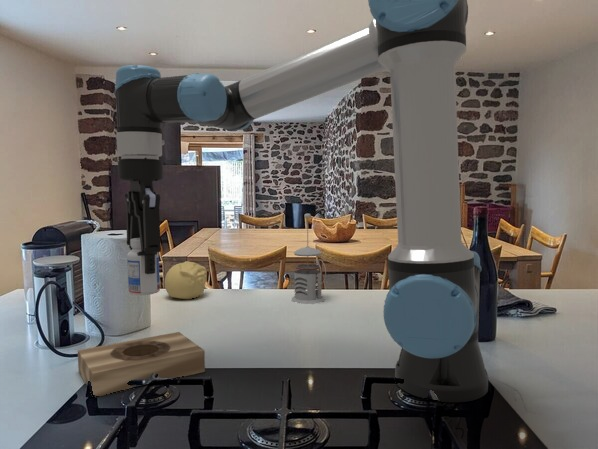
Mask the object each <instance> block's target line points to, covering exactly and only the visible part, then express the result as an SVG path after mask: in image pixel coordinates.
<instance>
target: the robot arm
mask: <svg viewBox="0 0 598 449" xmlns="http://www.w3.org/2000/svg"><path fill="white" fill-rule="evenodd" d="M468 5H469V4H468V0H368V6H369V11H370V14H371V16H372V20H371V21H370V23H369V25H367V26H364V27H362V28H360V29H357V30H355V31H353V32H351V33H349V34H346V35H343V36H341V37H338V38H336V39H334V40H332V41H330V42H327V43H324V44H322V45H320V46H318V47H316V48H313V49H311V50H308V51H306V52H303V53H302V54H301V53H300V54H299V55H296V56H294V57H291V58H289V59H287V60H285V61H282V62H280V63H278V64H275V65H273V66H270V67H268V68H266V69H264V70H261V71H259V72H257V73H255V74H252V75H249V76H248V77H245V78H242V79H241V80H238V81H235V82H234V83H231V84H229V85H226V86H224V84H223V82H222V81H220V79H219V77H218V76H217V75H214V74H211V73H198V72H196V73H192V74H186V75H185V74H183V75H176V76H166V77H162V76H161V72H160V70H159V69H158V68H155V67H153V66H148V65H142V64H137V65H133V64H129V65H128V64H127V65H122V66H120V67H119V68H118V69H117V70H116V72H115V88H114V97H115V106H116V107H115V108H116V109H115V110H116V126H117V128H116V150H117V151H116V152H117V153H116V154H117V156H119V157H120V159H118V161H117V172H118V174H117V177H118V180H120V181H122V182H123V181H124V182H125V181H127V182H128V181H129V182H130V184H129V191H127V192H125V193H124V198H125V199H124V200H125V207H126V208H125V212H126V214H125V216H126V218H125V219H126V220H125V221H126V224H125V225H126V245H127V246H128V248H129V251H132V248H131V246H130V245H131V243H130V240H131V239H133V238H140V243H141V252H138V253H137V255H138V256H140V290H141V293H145V292H153V291H157V259H156V254H157V252H158V253H160V252H161V251H162V248H161V247H162V246H161V222H160V221H161V218H160V215H161V214H160V205H161V204H160V203H161V196H160V194H157V193H156V191H155V189H154V184H153V182H155V181H158V182H159V181H162V180H163V179H164V167H163V165H164V163H163V162H164V161H162V160H161V159H160V158H161V157H162V156H163V146H164V145H165V144H166V142H165V140H163V135H162V134H163V124H167V123H168V124H169V123H191V124H196V125H201V126H209V127H213V128H219V129H223V130H225V131H230V132H233V131H242V130H245V129H247V128H249V126H250V125H252V123H253V122H254V121H255V120H256V119H259V118H261V117H264V116H267V115H270V114H272V113H275V112H277V111H280V110H283V109H285V108H288V107H290V106H293V105H296V104H299V103H302V102H304V101H306V100H309V99H311V98H314V97H317V96H319V95H322V94H325V93H327V92H330V91H332V90H335V89H338V88H340V87H343V86H345V85H348V84H351V83H353V82H356V81H359V80H361V79H364V78H366V77H370V76H373V75H375V74H377V73H380V72H382V71H385V72H388V73H389V76H390V77H389V78H390V81H389V82H390V97H391V98H390V99H391V100H390V103H391V121H392V140H393V141H392V142H393V160H394V163H393V164H394V166H393V167H394V180H395V181H394V183H395V184H394V185H395V205H396V207H395V208H396V223H397V224H396V226H397V227H396V228H397V244H396V247H395V248H393V249H392V251H391V252H390V253H389V254H388V256H387V264H388V286H389V287H388V288H389V289H388V290H389V291H388V292H387V294H386V297H385V300H384V305H383V320H384V324H385V327H386V330H387V333H388V334H389V336H390V337H391V339H392V340H393V341H394V342H395V343H396V344H398V346H399V347H400V348H401V350H400V353H399V357H398V360H397V361H396V364H395V367H394V368H395V369H394V371H395V372H394V378H395V377H396V378H401V379H404V383H403V384H396V385H397V386H398V387H399V389H401V390H402V391H404V392H406V393H408V394H409V395H412V396H415V397H418V398H420V397H421V399H424V398H427V397H428V392H429V391H430V390H432V391H434V393H435V394H436V395H437V397H438V398H439V400H440V401H441V403H442V402H443V403H467V402H471V401H475V400H478V399H481V398H482V397H484V396H485V395H486V394H487V393H488V392H489V373H488V372H487V370H486V366H485V362H484V358H483V355H482V351H481V348H480V344H479V320H480V319H479V318H480V316H479V315H480V313H479V312H480V282H481V281H480V280H481V278H480V277H481V272H482V265H481V257H480V254H479V253H477V251H475V250H470V249H469V248H468V247H467V246H466V245H465V244H464V243H463V241H462V221H461V220H462V219H461V218H462V217H461V196H460V195H461V194H460V191H461V190H460V167H459V166H460V164H459V139H458V135H459V134H458V117H457V116H458V112H457V111H458V110H457V109H458V108H457V88H456V85H457V84H456V83H457V82H456V64H457V63H458V62H459V60H460V59H461V58H462V56H463V55H464V54H465V53H466V52H467V34H466V33H467V32H466V30H467V27H466V26H467V23H468V20H469V19H468V17H469V6H468ZM159 157H160V158H159ZM440 401H439V402H440Z"/></svg>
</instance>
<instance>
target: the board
mask: <svg viewBox="0 0 598 449" xmlns="http://www.w3.org/2000/svg"><path fill="white" fill-rule="evenodd" d="M205 355H206V354H205V349H204V348H203V347H201V346H199V344H196V343H195V342H194V341H192V340H191V339H189V338H188V337H187V336H185V335H184V334H183V333H181V332H180V331H177V332H171V333H166V334H158V335H154V336H149V337H144V338H142V337H141V338H137V339H133V340H132V339H131V340H126V341H122V342H115V343H110V344H105V345H98V346H94V347H87V348H83V349H78V350H77V363H78V364H77V367H78V373H79V375H80V377H81V378H82V380H83V381H84V384H85V385H86V384H87V382H88V381H90V382H91V386H92V391H93V395H96V396H99V397H102V396H107V395H111V394H110V393H112V394H114V393H113V392H116V391H120V390H124V391H126V390H125V389H129V388H132V387H133V386H130V385H128V384H127V383H128V382H129V381H131V380H134V379H146V378H147V377H149V376H150V375H151V374H152V373H157V374H158V377H161V378H171V377H180V378H183V377H182V376H184V377H187V376H192V375H196V374H201V373H204V372H206V366H205V364H206V362H205V361H206V360H205V358H206V357H205ZM129 390H130V389H129ZM120 392H121V391H120ZM116 393H117V392H116ZM106 394H107V395H106Z"/></svg>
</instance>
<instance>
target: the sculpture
mask: <svg viewBox="0 0 598 449" xmlns="http://www.w3.org/2000/svg"><path fill="white" fill-rule="evenodd" d="M207 272H208V271H207V268H206V267H205V266H202V265H201V264H199V263H196V262H193V261H188V260H187V261H186V260H185V261H184V262H180V263H177V264H174V265H172V266H171V267H170V268H169V270H168V271H167V272H166V273H165V274H166V275H165V278H164V287H165V288H164V289H165V291H166V294H167V295H168V296H169V297H171V298H175V299H182V300H193V299H192V298H194V299H197V298H199V297H200V296H201V295H202V294H203V292H204V291H205V287H206V282H207ZM196 297H197V298H196Z"/></svg>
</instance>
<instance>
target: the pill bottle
mask: <svg viewBox="0 0 598 449" xmlns="http://www.w3.org/2000/svg"><path fill="white" fill-rule="evenodd" d="M130 243H131V245H130V246H131V248H132V250H129V251H128V253H127V255H126V260H127V261H126V262H127V281H128V282H127V283H128V292H129V294H130V295H134V296H148V295H149V296H150V295H154V294H157V293H159V292H160V290H161V282H160V280H161V279H160V277H161V276H160V254H159V252H157V254H156V259H157V291H153V292H145V293H141V290H140V256H138V255H137V253H138V252H141V243H140V238H133V239H131V240H130Z"/></svg>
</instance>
